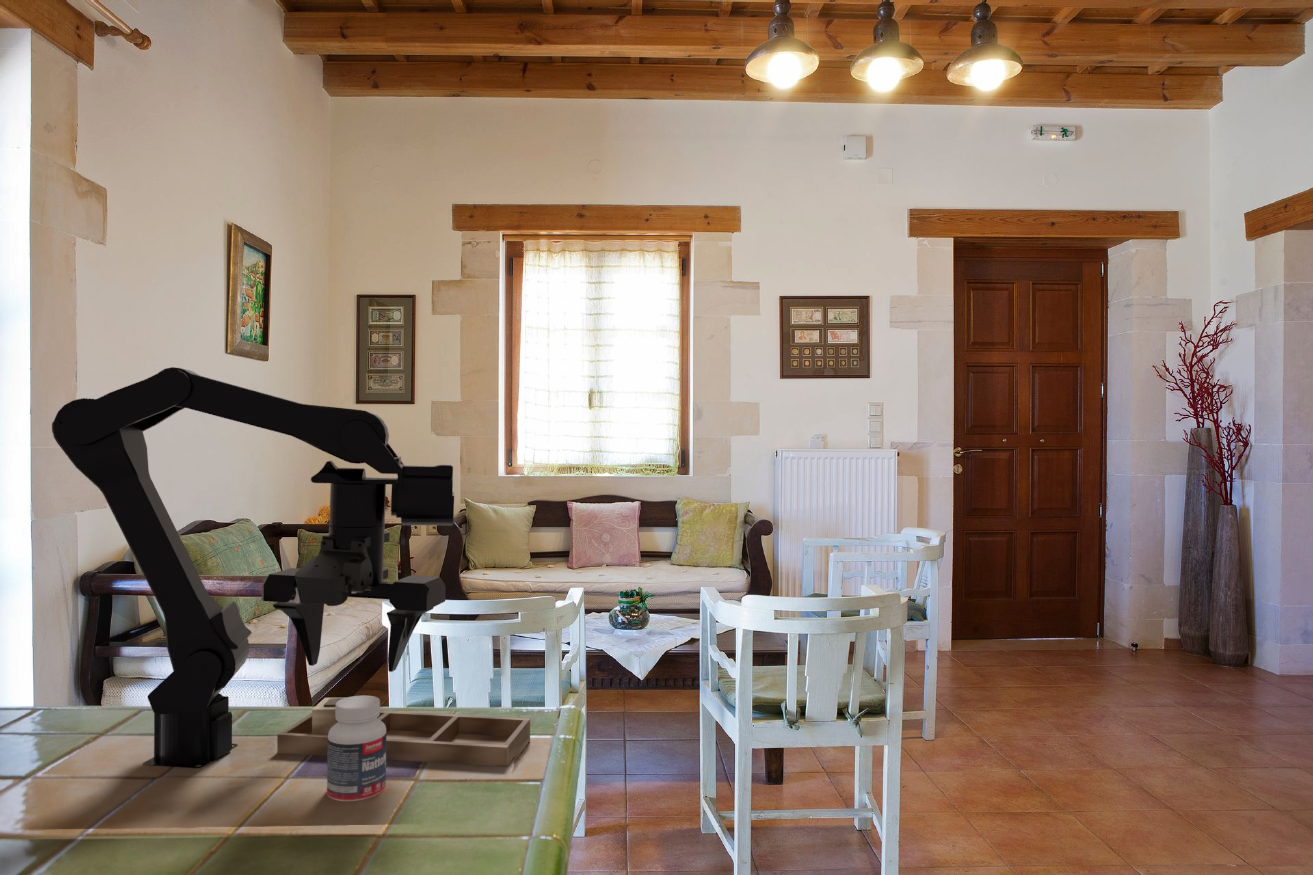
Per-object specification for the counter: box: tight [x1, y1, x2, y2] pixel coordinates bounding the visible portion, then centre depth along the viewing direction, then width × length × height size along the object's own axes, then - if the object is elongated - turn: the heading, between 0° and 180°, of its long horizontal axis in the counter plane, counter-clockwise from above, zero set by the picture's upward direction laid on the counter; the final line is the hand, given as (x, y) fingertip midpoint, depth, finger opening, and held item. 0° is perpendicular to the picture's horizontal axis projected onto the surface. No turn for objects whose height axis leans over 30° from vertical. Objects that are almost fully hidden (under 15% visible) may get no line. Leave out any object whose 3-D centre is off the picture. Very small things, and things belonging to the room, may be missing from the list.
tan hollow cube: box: [311, 697, 345, 735], centre depth 92 cm, size 4×4×4 cm
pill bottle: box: [326, 694, 387, 802], centre depth 80 cm, size 5×5×9 cm
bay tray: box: [276, 710, 531, 768], centre depth 91 cm, size 25×9×2 cm, turn 83°
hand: (352, 667), depth 92 cm, fingers open, 9 cm apart
